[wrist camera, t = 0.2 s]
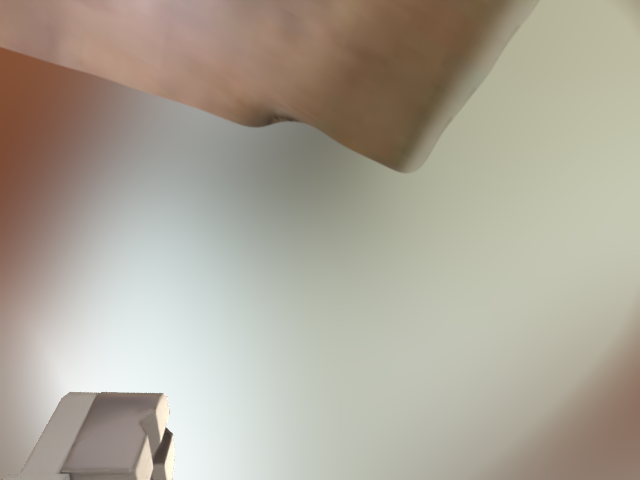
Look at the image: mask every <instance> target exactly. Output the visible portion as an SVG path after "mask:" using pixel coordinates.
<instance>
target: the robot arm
mask: <svg viewBox="0 0 640 480" xmlns="http://www.w3.org/2000/svg"><path fill="white" fill-rule="evenodd" d="M169 414H170V411H169V405H168V400H167V396H166V395H164V394H163V393H117V392H101V393H84V392H83V393H82V392H70V393H68V394H67V395H65V396H64V397H63V398H62V399H61V401H60V402H59V404H58V406H57V408H56V410H55V411H54V413H53V415H52V417H51V419H50V420H49V422H48V424H47V426H46V428H45V429H44V431H43V433H42V435H41V436H40V438H39V440H38V442H37V444H36V445H35V447H34V449H33V451H32V453H31V454H30V456H29V458H28V460H27V461H26V464H25V465H24V467H23V469H22V470H21V472H20V474H9V475H7V476H6V477H5V478H3V479H2V480H172V477H173V469H174V461H175V459H174V457H175V456H174V439H173V434H172V433H171V432H170V431H169V430H168V429H167V428H166V424H167V421H168V417H169Z"/></svg>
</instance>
